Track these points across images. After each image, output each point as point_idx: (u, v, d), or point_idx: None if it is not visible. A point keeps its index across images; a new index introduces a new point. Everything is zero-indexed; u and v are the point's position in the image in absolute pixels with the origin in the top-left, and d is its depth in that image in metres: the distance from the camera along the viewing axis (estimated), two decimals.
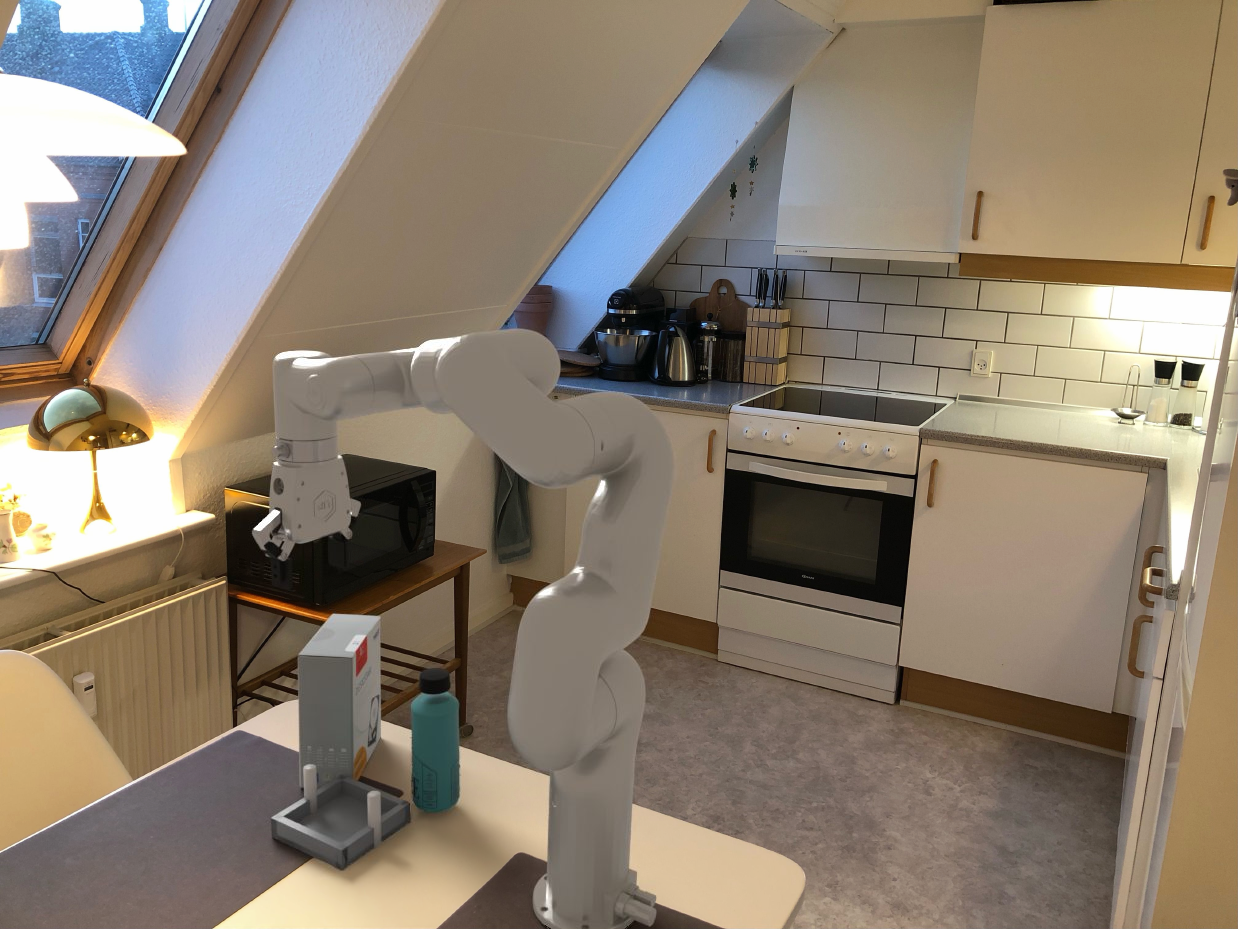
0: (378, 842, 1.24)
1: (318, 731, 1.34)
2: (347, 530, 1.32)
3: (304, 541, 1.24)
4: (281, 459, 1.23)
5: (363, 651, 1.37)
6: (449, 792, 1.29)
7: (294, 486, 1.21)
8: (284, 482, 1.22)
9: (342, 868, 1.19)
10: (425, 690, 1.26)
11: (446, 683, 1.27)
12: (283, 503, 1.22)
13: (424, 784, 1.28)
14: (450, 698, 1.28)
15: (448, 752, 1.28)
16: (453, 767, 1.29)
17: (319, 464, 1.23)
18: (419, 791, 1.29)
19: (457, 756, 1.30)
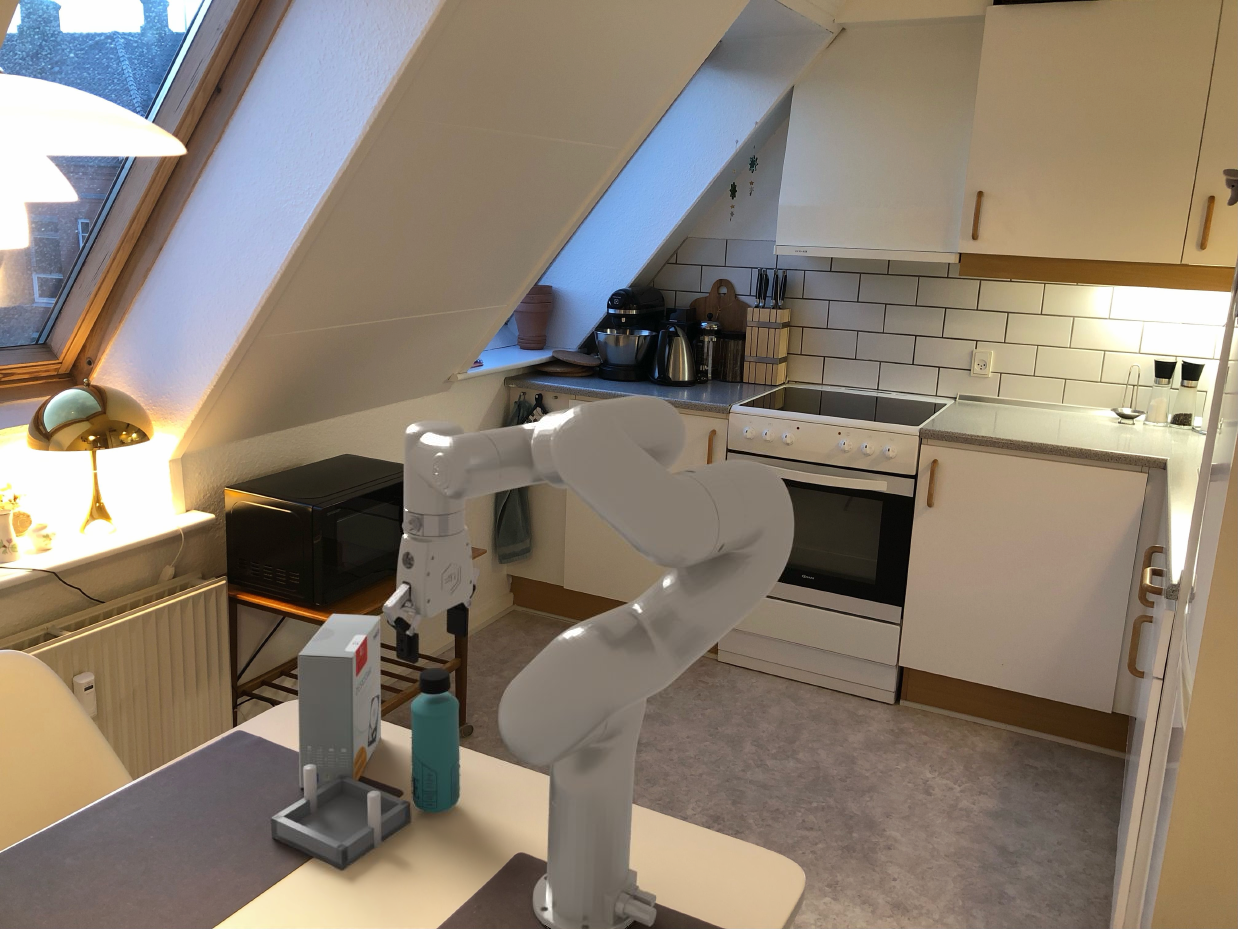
0: (378, 842, 1.24)
1: (318, 731, 1.34)
2: (467, 599, 1.30)
3: (432, 615, 1.22)
4: (410, 532, 1.20)
5: (363, 651, 1.37)
6: (449, 792, 1.29)
7: (425, 561, 1.19)
8: (414, 557, 1.19)
9: (342, 868, 1.19)
10: (425, 690, 1.26)
11: (446, 683, 1.27)
12: (413, 578, 1.20)
13: (424, 784, 1.28)
14: (450, 698, 1.28)
15: (448, 752, 1.28)
16: (453, 767, 1.29)
17: (449, 538, 1.21)
18: (419, 791, 1.29)
19: (457, 756, 1.30)
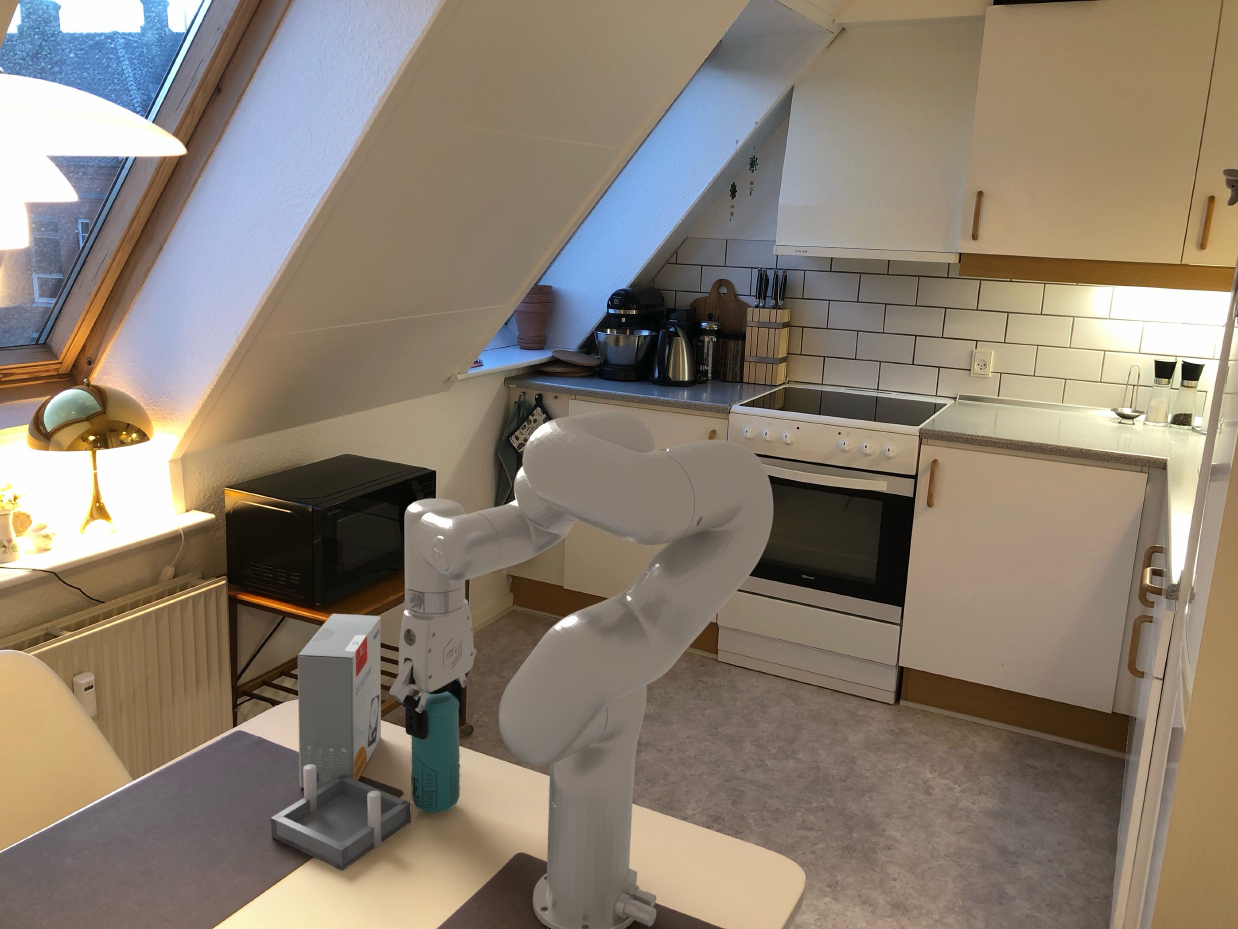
0: (378, 842, 1.24)
1: (318, 731, 1.34)
2: (463, 679, 1.31)
3: (433, 690, 1.24)
4: (412, 609, 1.23)
5: (363, 651, 1.37)
6: (449, 792, 1.29)
7: (426, 638, 1.21)
8: (416, 634, 1.22)
9: (342, 868, 1.19)
10: None
11: None
12: (414, 654, 1.22)
13: (424, 784, 1.28)
14: (450, 698, 1.28)
15: (447, 751, 1.28)
16: (453, 767, 1.29)
17: (450, 614, 1.23)
18: (419, 791, 1.29)
19: (457, 756, 1.30)
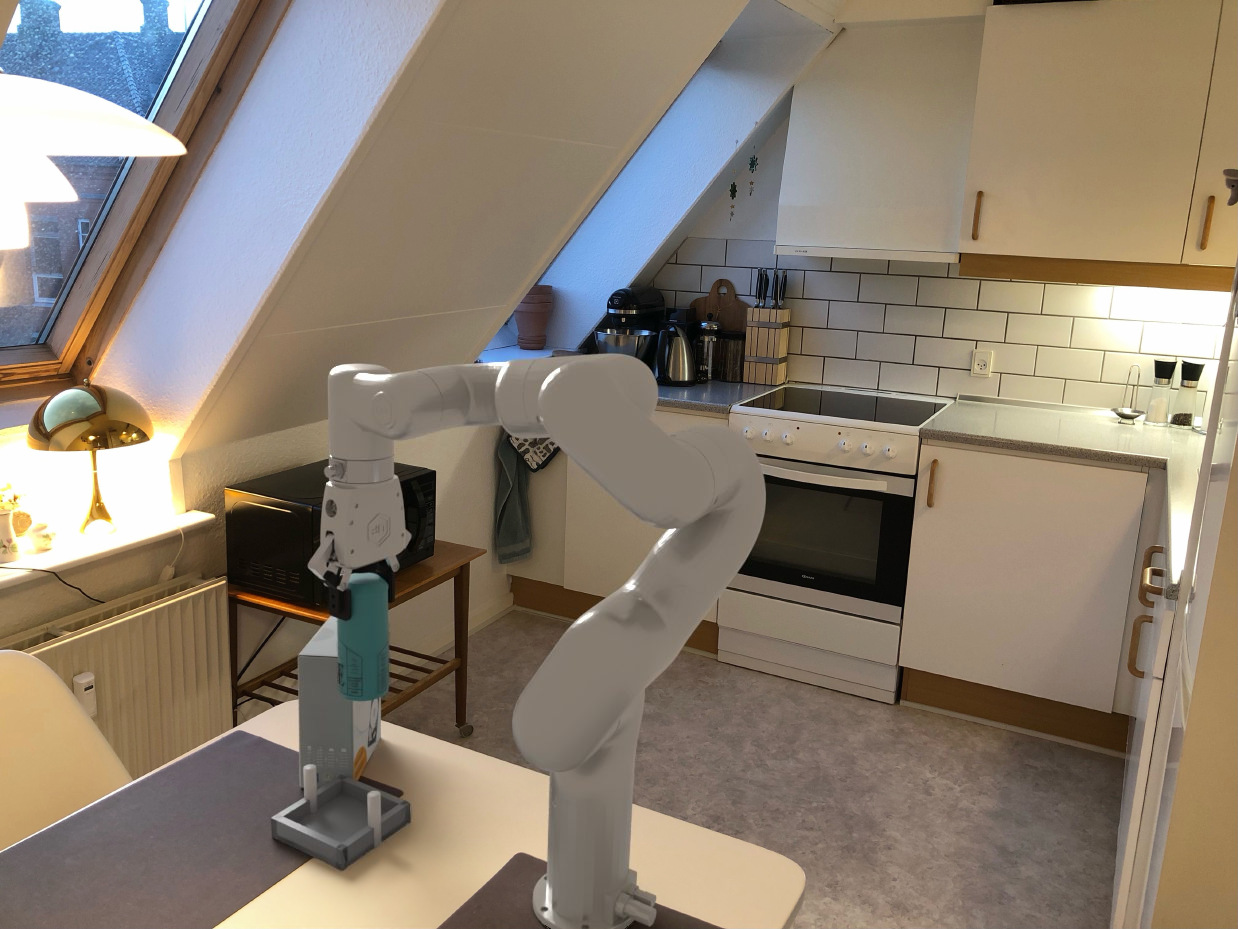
0: (378, 842, 1.24)
1: (318, 731, 1.34)
2: (394, 562, 1.23)
3: (357, 567, 1.16)
4: (334, 479, 1.15)
5: None
6: (375, 680, 1.22)
7: (348, 509, 1.14)
8: (337, 504, 1.14)
9: (342, 868, 1.19)
10: None
11: (373, 563, 1.19)
12: (336, 526, 1.14)
13: (349, 670, 1.21)
14: (378, 580, 1.21)
15: (374, 636, 1.20)
16: (380, 654, 1.22)
17: (374, 485, 1.15)
18: (344, 678, 1.21)
19: (385, 643, 1.22)
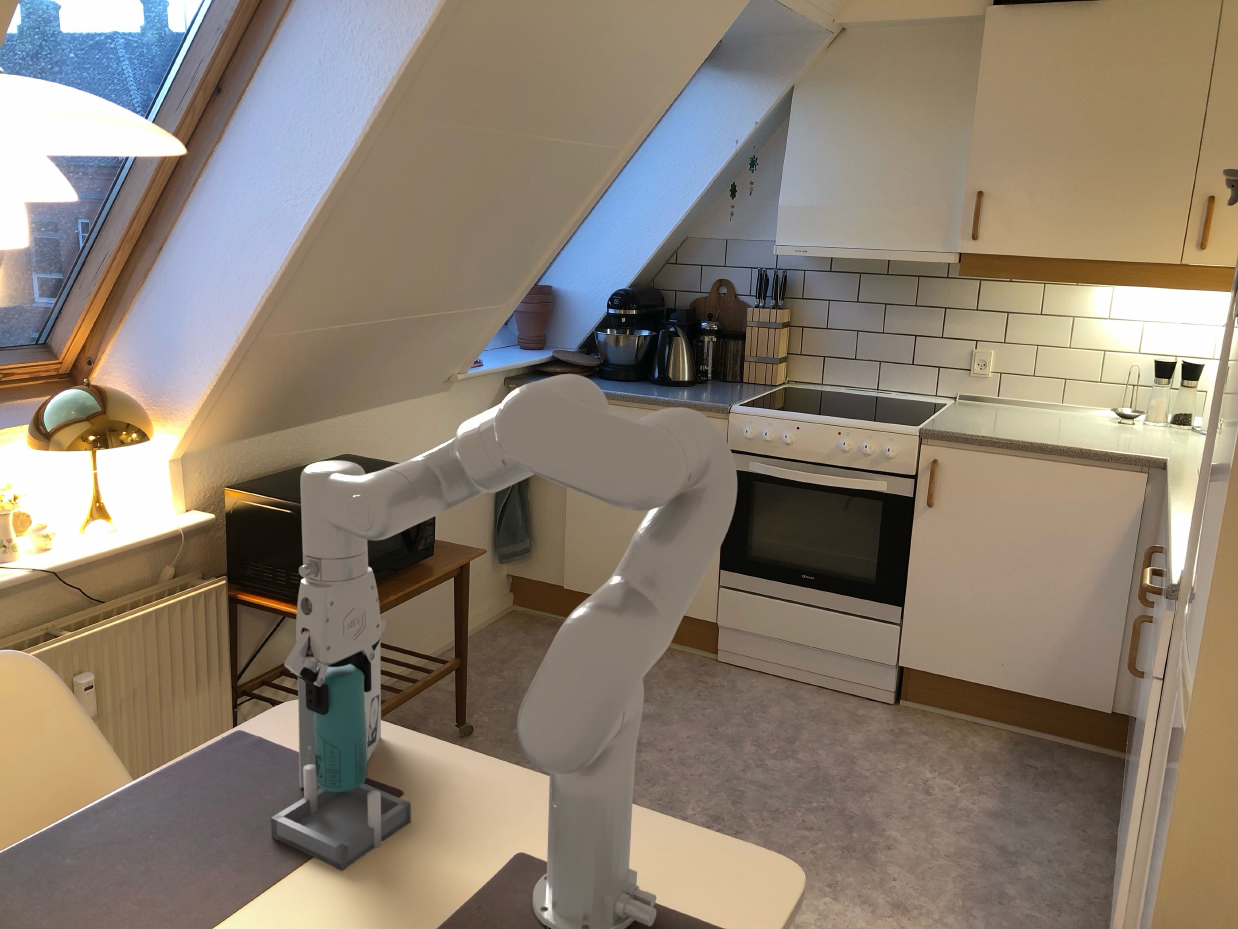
0: (378, 842, 1.24)
1: None
2: (370, 652, 1.25)
3: (333, 662, 1.17)
4: (309, 577, 1.16)
5: None
6: (353, 770, 1.23)
7: (323, 607, 1.15)
8: (312, 602, 1.15)
9: (342, 868, 1.19)
10: None
11: None
12: (311, 624, 1.16)
13: (326, 762, 1.22)
14: (354, 671, 1.22)
15: (351, 728, 1.21)
16: (358, 744, 1.23)
17: (349, 582, 1.16)
18: (322, 769, 1.22)
19: (363, 733, 1.23)
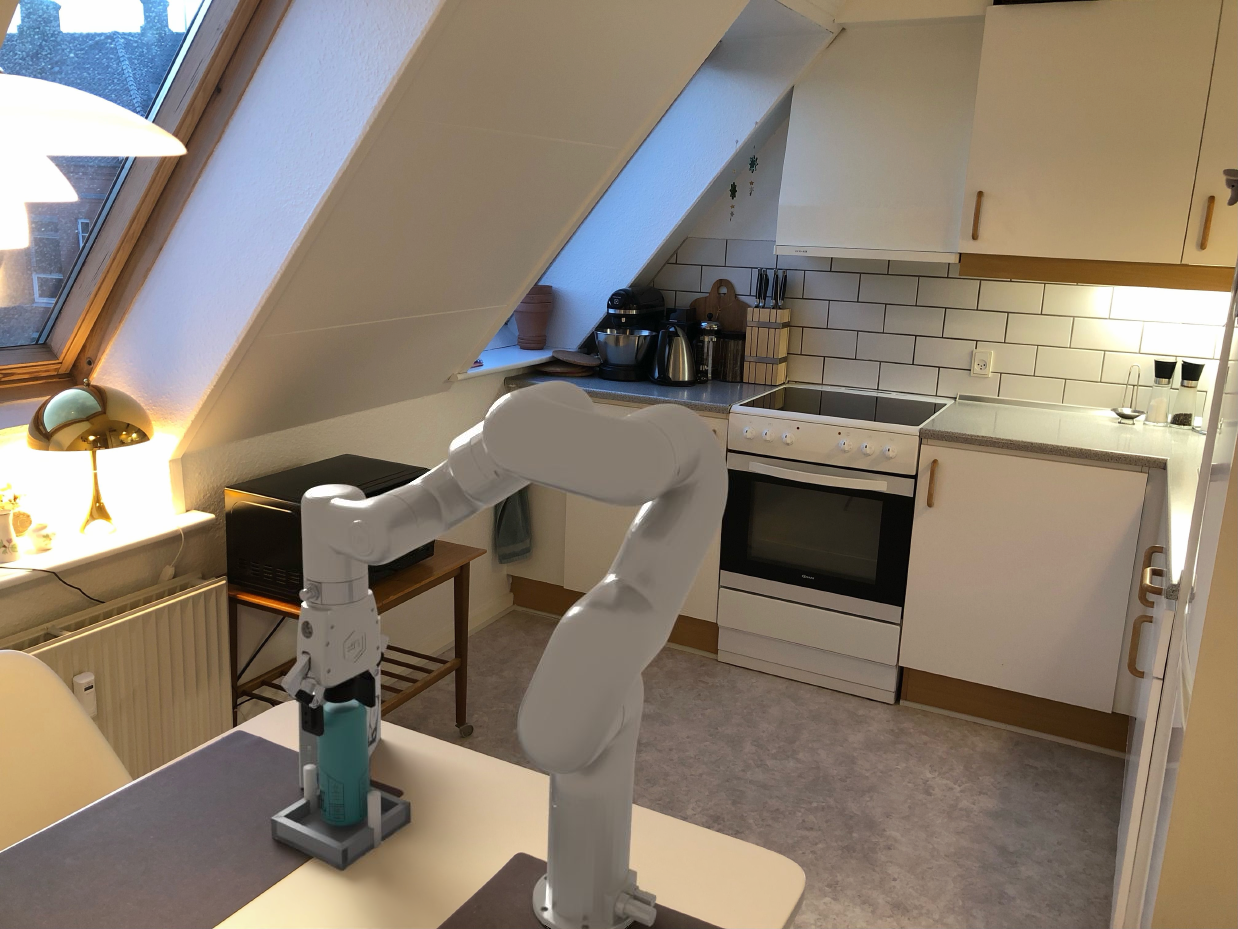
0: (378, 842, 1.24)
1: None
2: (374, 668, 1.26)
3: (333, 685, 1.18)
4: (310, 600, 1.17)
5: None
6: (357, 804, 1.24)
7: (323, 630, 1.16)
8: (313, 626, 1.16)
9: (342, 868, 1.19)
10: (329, 699, 1.21)
11: (351, 691, 1.22)
12: (312, 647, 1.16)
13: (330, 796, 1.23)
14: (357, 707, 1.23)
15: (355, 763, 1.23)
16: (361, 779, 1.24)
17: (349, 606, 1.17)
18: (326, 804, 1.24)
19: (366, 767, 1.25)
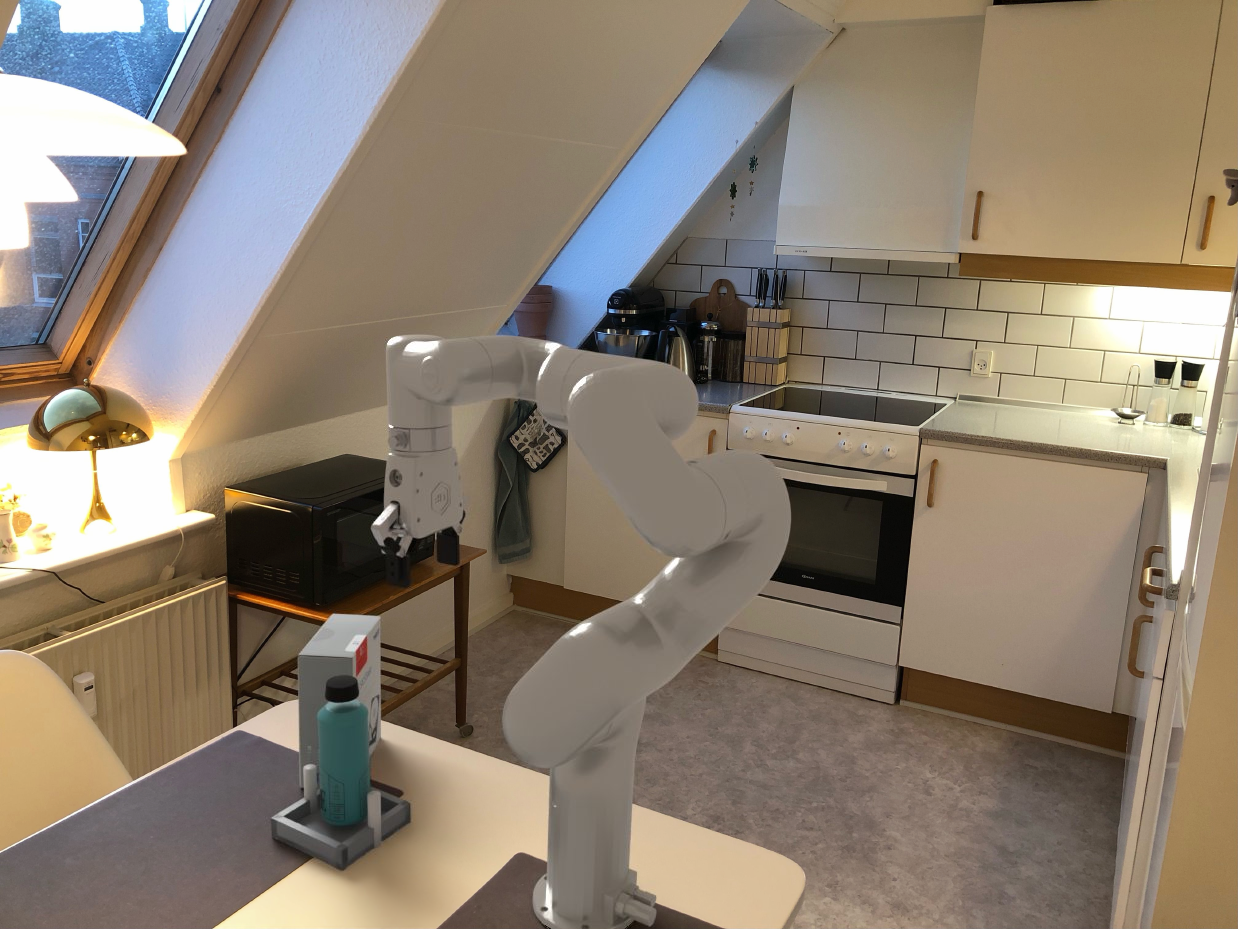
0: (378, 842, 1.24)
1: None
2: (458, 525, 1.25)
3: (422, 536, 1.17)
4: (397, 449, 1.16)
5: (363, 651, 1.37)
6: (357, 804, 1.24)
7: (413, 477, 1.14)
8: (402, 473, 1.15)
9: (342, 868, 1.19)
10: (331, 699, 1.21)
11: (353, 691, 1.22)
12: (401, 496, 1.15)
13: (331, 796, 1.23)
14: (358, 706, 1.23)
15: (355, 762, 1.23)
16: (362, 779, 1.24)
17: (437, 453, 1.16)
18: (327, 804, 1.24)
19: (367, 767, 1.25)
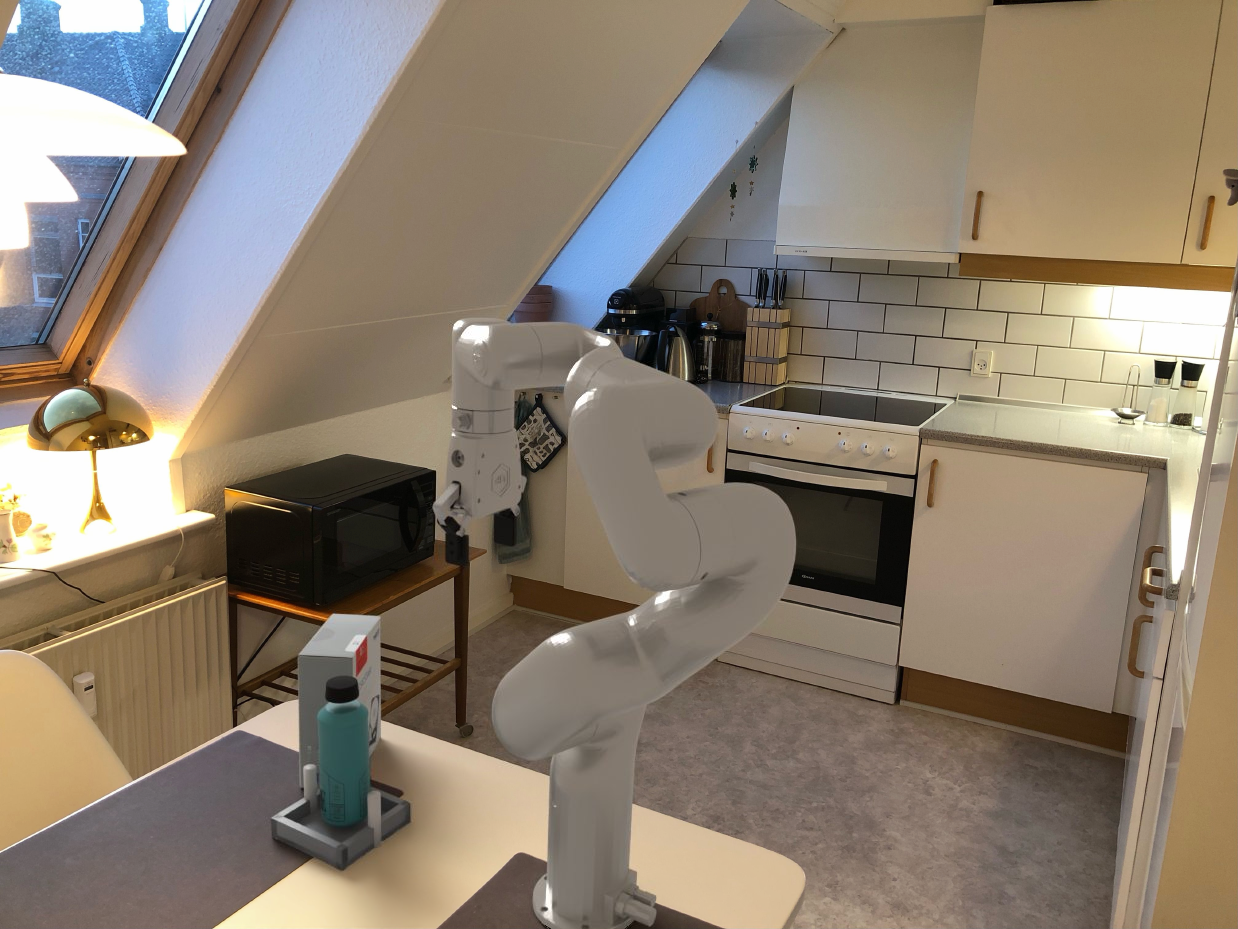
0: (378, 842, 1.24)
1: None
2: (515, 506, 1.27)
3: (482, 516, 1.19)
4: (460, 430, 1.17)
5: (363, 651, 1.37)
6: (357, 805, 1.24)
7: (475, 458, 1.16)
8: (464, 454, 1.16)
9: (342, 868, 1.19)
10: (331, 699, 1.21)
11: (353, 692, 1.22)
12: (463, 476, 1.17)
13: (331, 796, 1.23)
14: (358, 707, 1.23)
15: (355, 763, 1.23)
16: (362, 779, 1.24)
17: (499, 436, 1.18)
18: (327, 804, 1.24)
19: (367, 767, 1.25)
